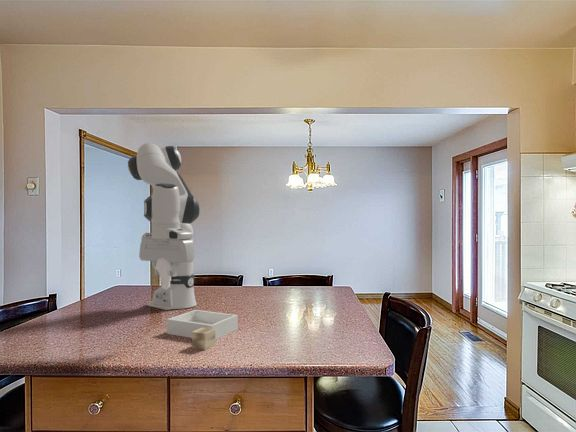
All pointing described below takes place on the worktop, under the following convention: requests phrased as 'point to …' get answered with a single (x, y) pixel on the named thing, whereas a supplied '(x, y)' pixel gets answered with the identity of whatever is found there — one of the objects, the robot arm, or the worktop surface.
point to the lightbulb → (164, 271)
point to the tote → (202, 323)
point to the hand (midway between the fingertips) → (165, 275)
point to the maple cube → (203, 338)
